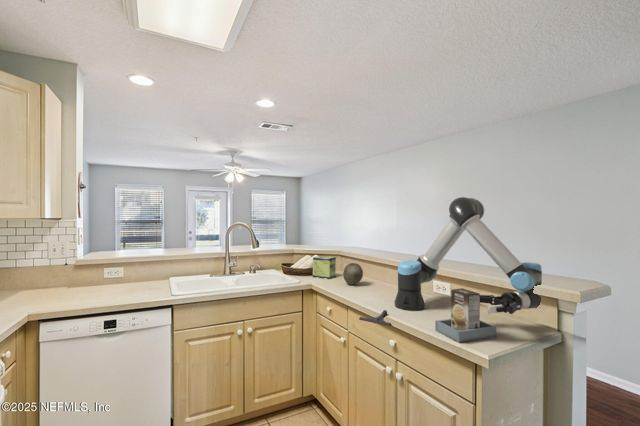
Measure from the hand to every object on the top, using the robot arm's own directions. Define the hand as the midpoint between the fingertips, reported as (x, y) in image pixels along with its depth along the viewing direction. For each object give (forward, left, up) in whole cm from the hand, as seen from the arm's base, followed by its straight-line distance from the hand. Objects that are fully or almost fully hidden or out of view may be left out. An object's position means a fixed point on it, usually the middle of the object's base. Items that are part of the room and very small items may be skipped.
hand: (474, 305), depth 122 cm
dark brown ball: (-95, -11, -11) cm, 97 cm away
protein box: (-128, -21, -11) cm, 131 cm away
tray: (0, -5, -11) cm, 12 cm away
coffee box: (0, -5, -10) cm, 11 cm away
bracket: (-28, -28, -12) cm, 41 cm away
